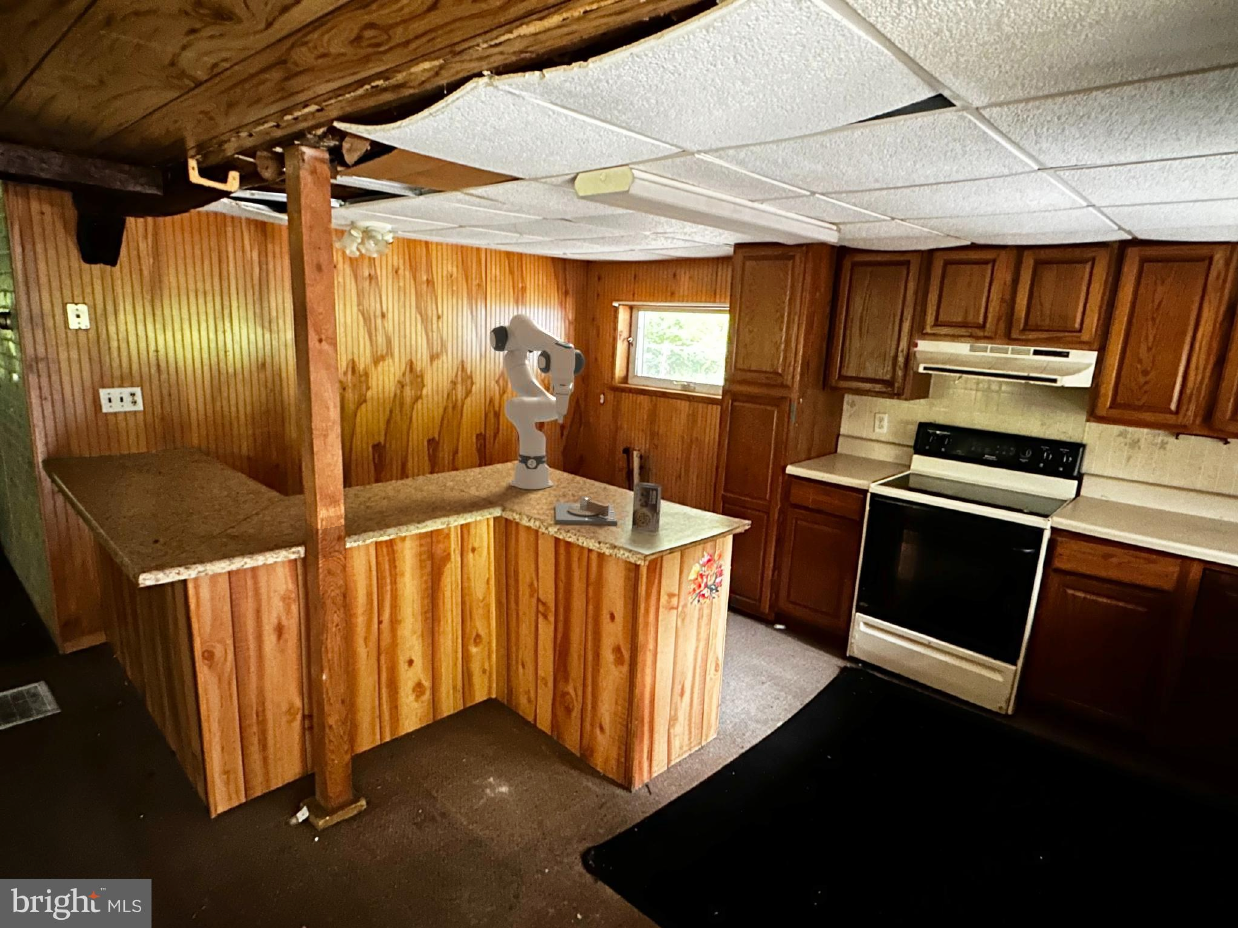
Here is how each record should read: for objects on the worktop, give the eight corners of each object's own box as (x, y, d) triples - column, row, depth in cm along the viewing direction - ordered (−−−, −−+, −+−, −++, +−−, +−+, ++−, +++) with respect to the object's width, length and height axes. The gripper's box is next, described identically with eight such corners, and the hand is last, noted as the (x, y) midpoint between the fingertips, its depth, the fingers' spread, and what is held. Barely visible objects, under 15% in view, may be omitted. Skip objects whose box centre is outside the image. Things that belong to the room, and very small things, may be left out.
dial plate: (555, 506, 256) (555, 502, 255) (611, 507, 258) (611, 503, 258) (555, 523, 234) (556, 519, 234) (617, 525, 237) (617, 520, 236)
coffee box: (659, 527, 237) (662, 484, 234) (655, 532, 231) (659, 488, 228) (635, 524, 239) (638, 481, 236) (630, 529, 233) (633, 485, 230)
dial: (560, 509, 245) (561, 497, 244) (585, 503, 255) (585, 491, 254) (593, 520, 234) (594, 507, 233) (618, 514, 243) (619, 501, 242)
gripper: (553, 382, 256) (551, 417, 259) (553, 389, 236) (552, 426, 239) (569, 383, 257) (567, 418, 260) (571, 390, 237) (569, 427, 240)
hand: (560, 422), depth 249 cm, fingers closed
